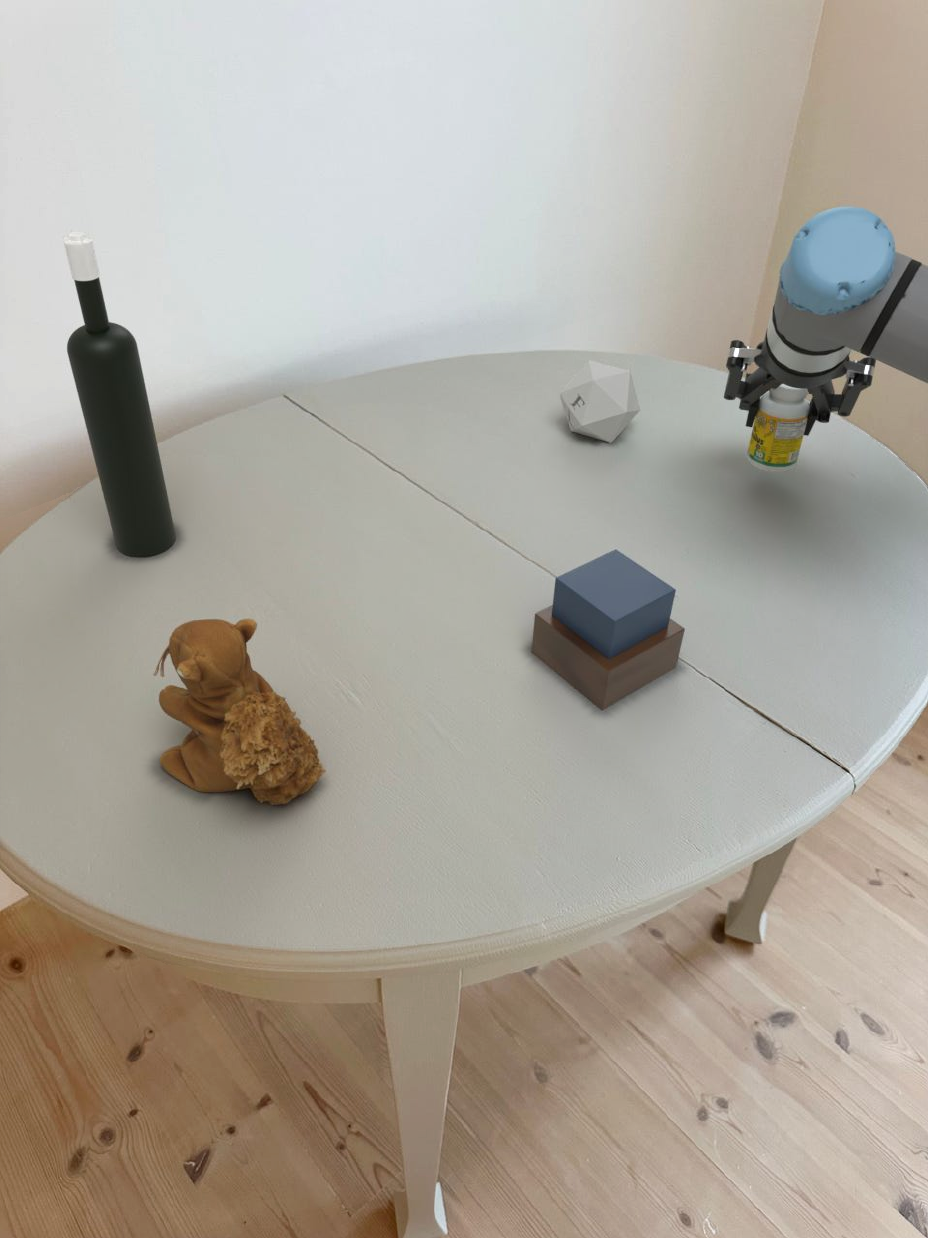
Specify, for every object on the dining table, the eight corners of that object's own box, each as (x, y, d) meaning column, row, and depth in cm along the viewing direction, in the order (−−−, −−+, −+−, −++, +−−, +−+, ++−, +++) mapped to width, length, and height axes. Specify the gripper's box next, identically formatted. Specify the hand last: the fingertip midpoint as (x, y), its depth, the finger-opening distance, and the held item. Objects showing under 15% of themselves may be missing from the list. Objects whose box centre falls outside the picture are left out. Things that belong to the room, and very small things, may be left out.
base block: (676, 667, 83) (685, 628, 80) (601, 711, 79) (608, 671, 76) (604, 614, 89) (610, 575, 86) (530, 652, 84) (534, 613, 81)
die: (558, 416, 120) (541, 375, 110) (619, 377, 119) (607, 332, 109) (592, 467, 116) (578, 428, 107) (656, 426, 115) (647, 384, 106)
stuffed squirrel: (251, 691, 80) (230, 564, 71) (364, 783, 72) (355, 654, 64) (145, 754, 74) (109, 624, 66) (256, 862, 67) (231, 731, 58)
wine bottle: (131, 565, 93) (55, 251, 73) (106, 538, 96) (27, 231, 77) (186, 544, 95) (126, 237, 76) (160, 518, 99) (96, 218, 80)
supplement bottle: (801, 474, 104) (823, 392, 98) (751, 473, 104) (771, 391, 98) (788, 449, 108) (808, 370, 102) (741, 448, 108) (759, 369, 102)
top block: (668, 626, 80) (676, 589, 78) (608, 659, 77) (615, 621, 75) (610, 585, 85) (616, 548, 82) (551, 615, 81) (555, 577, 79)
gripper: (929, 306, 83) (871, 399, 105) (713, 281, 87) (702, 375, 109) (913, 389, 82) (858, 465, 105) (696, 359, 86) (689, 438, 109)
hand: (779, 419), depth 107 cm, fingers closed on supplement bottle, 5 cm apart
